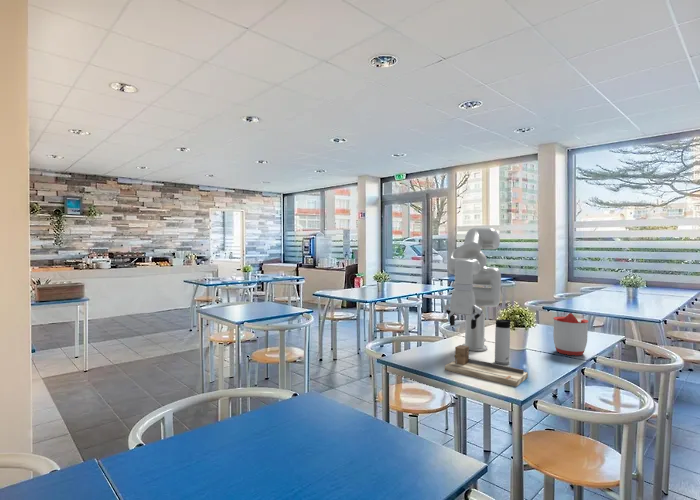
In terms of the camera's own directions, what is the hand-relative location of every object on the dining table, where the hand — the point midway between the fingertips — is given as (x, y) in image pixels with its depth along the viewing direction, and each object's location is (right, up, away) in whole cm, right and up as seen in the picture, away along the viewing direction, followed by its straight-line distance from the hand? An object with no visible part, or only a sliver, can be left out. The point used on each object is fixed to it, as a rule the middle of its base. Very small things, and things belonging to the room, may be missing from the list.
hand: (462, 326), depth 182 cm
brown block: (-1, -16, -1) cm, 16 cm away
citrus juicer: (+62, -18, +27) cm, 70 cm away
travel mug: (+20, -18, +8) cm, 29 cm away
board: (+8, -18, -7) cm, 21 cm away
